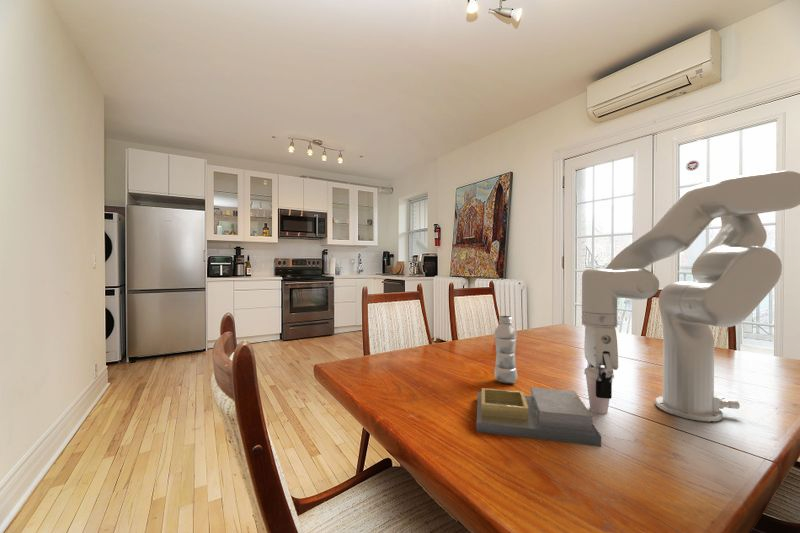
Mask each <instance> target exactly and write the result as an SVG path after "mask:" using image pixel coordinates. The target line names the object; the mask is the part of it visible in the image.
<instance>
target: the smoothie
mask: <svg viewBox="0 0 800 533" xmlns="http://www.w3.org/2000/svg"><path fill="white" fill-rule="evenodd" d="M599 366H600V365H599ZM583 370H584V372H583V374H584V375H585V380H586V387H587V392H588V393H587V394H588V403H589V410H590V411H591V412H593V413H596V414H602V415H603V414H608V411H609V404H610V399H607V398H597V397H596V380H598V379H597V371H596V368H595V367H589V368H587V367H586V368H584V369H583ZM600 371H601V370H600ZM602 372H604V371H601V374H602ZM613 379H615V373H614V372H613V374H612V380H613Z"/></svg>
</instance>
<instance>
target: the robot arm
mask: <svg viewBox="0 0 800 533" xmlns="http://www.w3.org/2000/svg"><path fill="white" fill-rule="evenodd" d="M799 206H800V173H799V172H797V171H794V170H793V171H792V170H780V171H773V172H764V173H755V174H748V175H746V174H745V175H739V176H730V177H726V178H720V179H717V180H714V181H710V182H705V183H702V184H698V185H695V186H692V187H690V188H688V189H687V190H686V191H685V192H683V193H682V194H681V195H680V196H679V197H678V199H677V200H676V201H675V202H674V203H673V205H672V206H671V207H670V208H668V211H667V212H666V213H665V214H664V215H663V216H662V217H661V218H660V219H659V221H657V223H656V224H655V225H654V226H653V227H652V229H651V230H649V231H647V232H646V233H645V234H643V235H642V236H640V237H639V238H637V239H636V240H634V241H633V242H632V243H630V244H629V245H628V246H626V247H625V248H623V249H621V251H620V252H619V253H618V254H616V256H615V257H614V258H613V259H611V261H610V262H609V263H608V265H606V267H605V268H589V269H585V270H583V271H582V275H581V325H583V326H584V340H583V341H584V342H583V343H584V348H583V351H584V358H585V360H586V361H587V367H586V368H589V367H595V368H596V371H597V379H598V380H596V397H597V398H607V399H609V400H611V399H612V393H613V392H612V390H613V388H612V387H613V386H612V385H613V379H612V374H613V373H614V371H617V370H619V348H618V346H619V345H618V337H617V330H616V328H617V327H618V299H628V300H635V301H636V300H637V301H642V300H647V299H650V298H652V297H653V296H654V295H656V294H657V293H658V291H659V289H660V281H659V278H658V277H657V275H656V274H654V273H653V272H652V271H650V270H647V269H646V268H647V267H649V266H651V265H653V264H654V263H656V262H659V261H662V260H664V259H667V258H670V257H672V256H673V257H674V256H675V255H678V254H680V253H682V252H684V251H686V250H687V249H689V248H690V247H691V246H692V244H693V243H694V242H695V241H696V240H697V239H698V237H699V236H700V235H702V233H703V232H704V231H705V229H706V228H707V227H708V226H710V224H711V223H712V222H713V221H714V220H715V219H717V218H720V220H721V221H720V222H721V226H720V230H719V231H718V233H717V234H716V235H715V237H714V238H713V239H712V240H711V242H710V243H709V244H707V246H706V247H705V248H704V249H703V251H702V252H701V253H700V255H698V257H697V258H696V259H695V261H694V262H693V263H692V266H691V274H692V277H693V278H694V279H695V280H696V281H688V280H687V281H686V280H685V281H675V282H671V283H669V284H668V285H667V284H666V285H665V286H664V287H663V288H662V289H661V290H660V293H659V295H658V308H659V313H660V316H661V321H662V322H661V323H662V337H663V338H662V343H663V344H662V395H659V396H658V397H655V399H654V402H655V403H654V404H655V406H657V407H658V409H660V410H662V411H664V412H666V413H668V414H671V415H673V416H677V417H680V418H683V419H687V420H692V421H698V422H709V423H710V422H711V421H713V422H719V421H721V420H723V418H724V414H723V411H722V410H723V409H724V408H728V409H735V410H738V409H740V406H741V405H740V402H739V401H738V400H736V399H725V397H724V396H718V395H716V394H715V339H714V335H713V333H712V329H711V327H710V326H712V327H718V328H732V327H735V326H737V325H739V324H741V323H742V322H744V321H745V320H746V319H747V318H749V316H750V315H751V314H752V313H753V311H754V310H756V308H757V307H758V306H759V305H760V304H761V302H763V300H764V299H765V298H766V297H767V296H768V294H770V292H771V291H772V290H773V288H774V287H775V286H776V284H777V283H778V281H779V280H780V278H781V275H782V269H783V267H782V261H781V259H780V257H779V255H778V254H777V253H776V252H774V251H773V250H771V249H769V248H767V247H764V246H765V244H766V241H767V237H768V234H767V231H766V229H765V227H764V225H763V223H762V221H761V218H760V216H759V214H764V213H773V212H779V211H785V210H786V211H787V210H791V209H794V208H796V207H799ZM599 365H600V366H599ZM601 366H604V367H601ZM600 370H601V371H604V372H602V374H601V371H600ZM711 423H712V422H711Z"/></svg>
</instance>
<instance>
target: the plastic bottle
mask: <svg viewBox="0 0 800 533" xmlns="http://www.w3.org/2000/svg"><path fill="white" fill-rule="evenodd" d="M498 323H499V324H498V326H497V327H496V328H495V330H494V332H493V336H494V343H495V351H496V352H495V353H496V356H495V365H494V373H493V374H494V379H495V380H496V381H497V382H499V383H502V384H513V383H516V381H517V379H518V370H517V365H516V363H517V362H516V345H517V336H518V334H517V331H516V329H515V328H514V327H513V325H512V324H513V316H510V315H500V316H499V317H498Z"/></svg>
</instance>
